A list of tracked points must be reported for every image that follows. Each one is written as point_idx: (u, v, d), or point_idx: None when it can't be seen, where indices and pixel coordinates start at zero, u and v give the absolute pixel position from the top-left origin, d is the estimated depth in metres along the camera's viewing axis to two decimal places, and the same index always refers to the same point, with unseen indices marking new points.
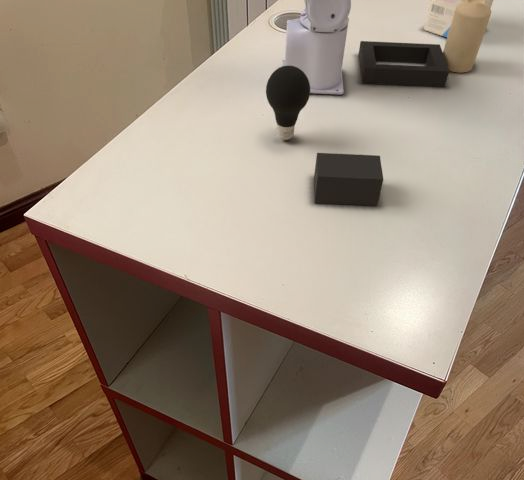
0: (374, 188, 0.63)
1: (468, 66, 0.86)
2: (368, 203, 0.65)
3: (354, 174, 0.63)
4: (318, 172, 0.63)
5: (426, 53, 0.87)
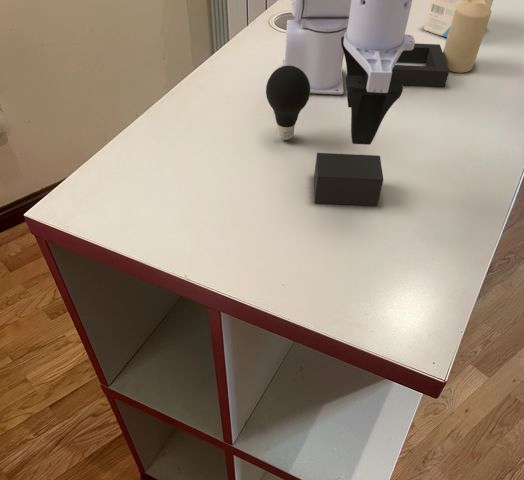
0: (374, 188, 0.63)
1: (468, 66, 0.86)
2: (368, 203, 0.65)
3: (354, 174, 0.63)
4: (318, 172, 0.63)
5: (426, 53, 0.87)
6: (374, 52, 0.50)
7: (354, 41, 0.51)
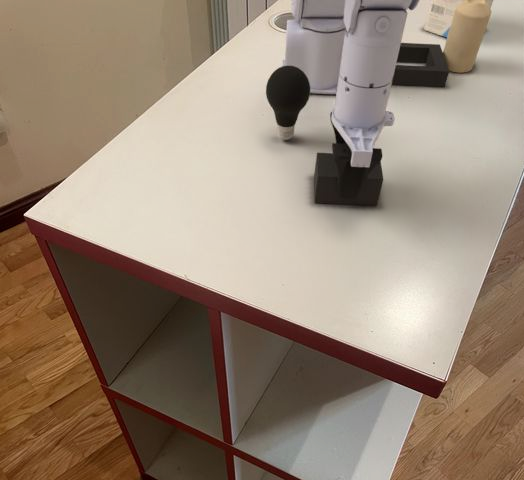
0: (374, 187, 0.63)
1: (468, 66, 0.86)
2: (368, 203, 0.65)
3: None
4: (318, 172, 0.63)
5: (426, 53, 0.87)
6: (358, 130, 0.57)
7: (340, 119, 0.57)
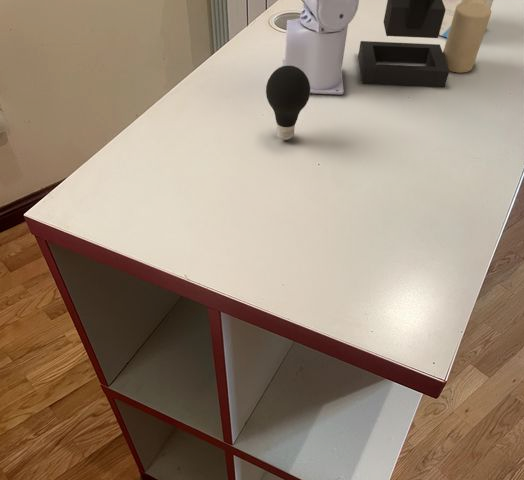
0: (437, 18, 0.77)
1: (468, 66, 0.86)
2: (431, 35, 0.79)
3: None
4: (392, 5, 0.77)
5: (426, 53, 0.87)
6: None
7: None
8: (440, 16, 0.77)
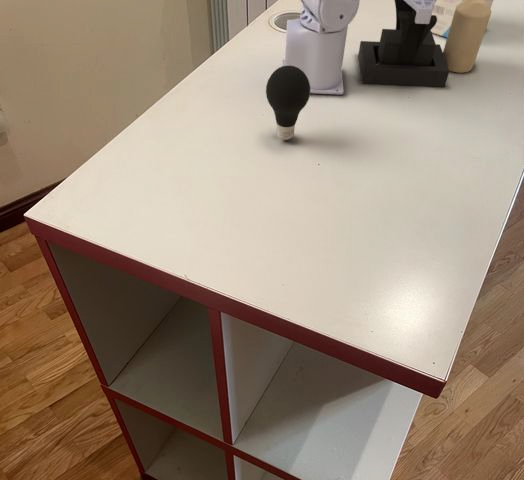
0: (428, 53, 0.82)
1: (468, 66, 0.86)
2: None
3: None
4: (385, 40, 0.81)
5: None
6: None
7: None
8: (431, 51, 0.81)
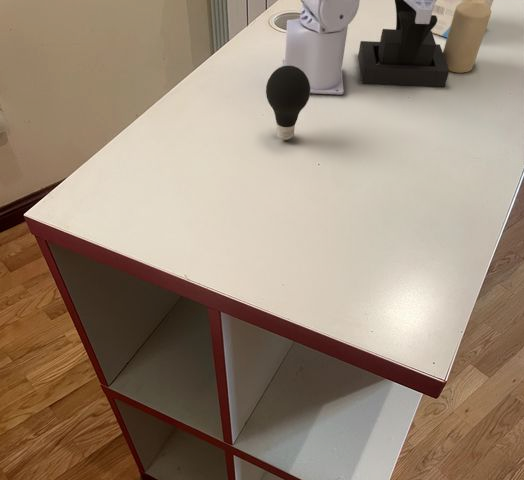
0: (428, 53, 0.82)
1: (468, 66, 0.86)
2: None
3: None
4: (385, 40, 0.81)
5: None
6: None
7: None
8: (431, 51, 0.81)
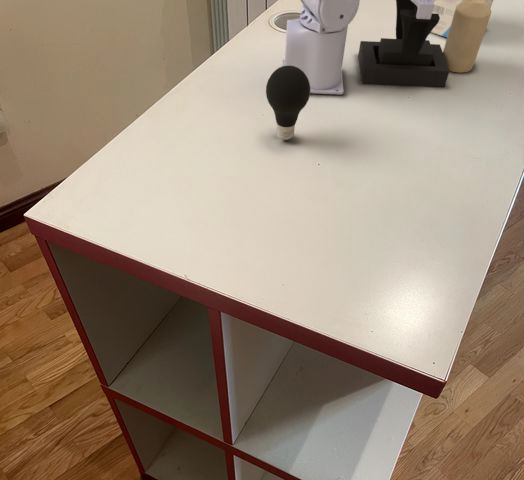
0: (426, 62, 0.83)
1: (468, 66, 0.86)
2: None
3: None
4: (383, 49, 0.82)
5: None
6: None
7: None
8: (428, 60, 0.83)
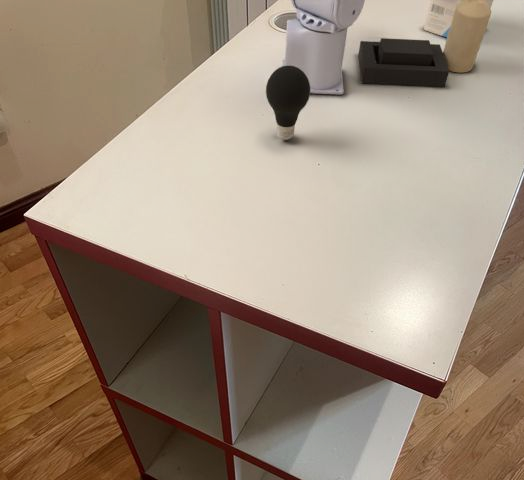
0: (426, 62, 0.83)
1: (468, 66, 0.86)
2: None
3: (411, 51, 0.82)
4: (383, 49, 0.82)
5: None
6: None
7: None
8: (428, 60, 0.83)
